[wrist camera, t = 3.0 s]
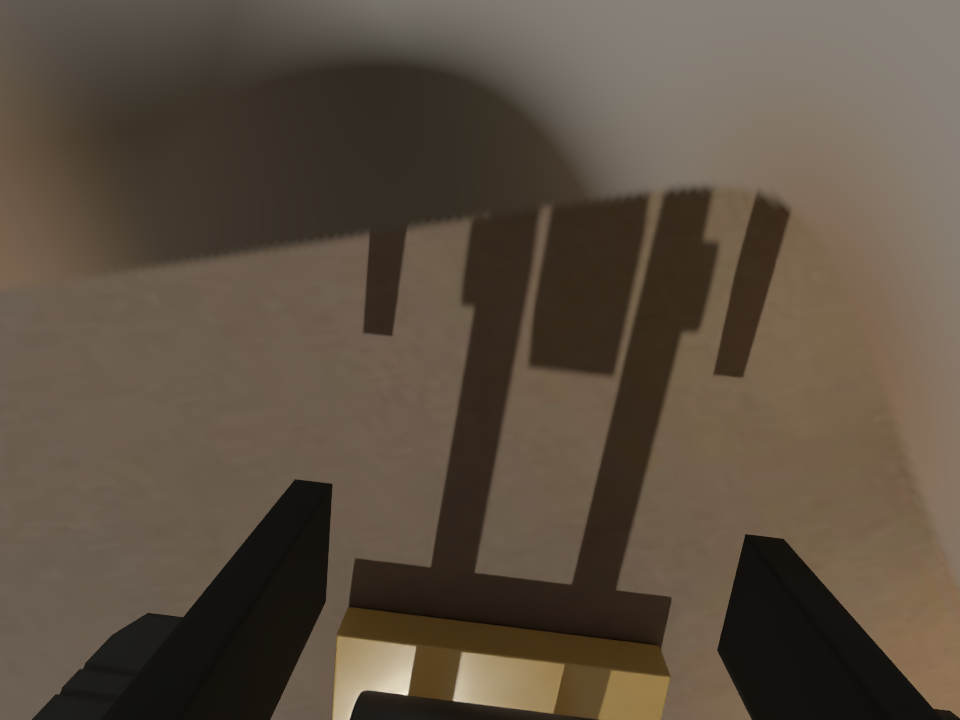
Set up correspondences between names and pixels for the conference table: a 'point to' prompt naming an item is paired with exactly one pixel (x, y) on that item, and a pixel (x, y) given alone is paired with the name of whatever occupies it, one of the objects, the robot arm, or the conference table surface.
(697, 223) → the conference table surface
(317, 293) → the conference table surface
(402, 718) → the switch lever
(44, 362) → the conference table surface
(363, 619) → the switch bracket
